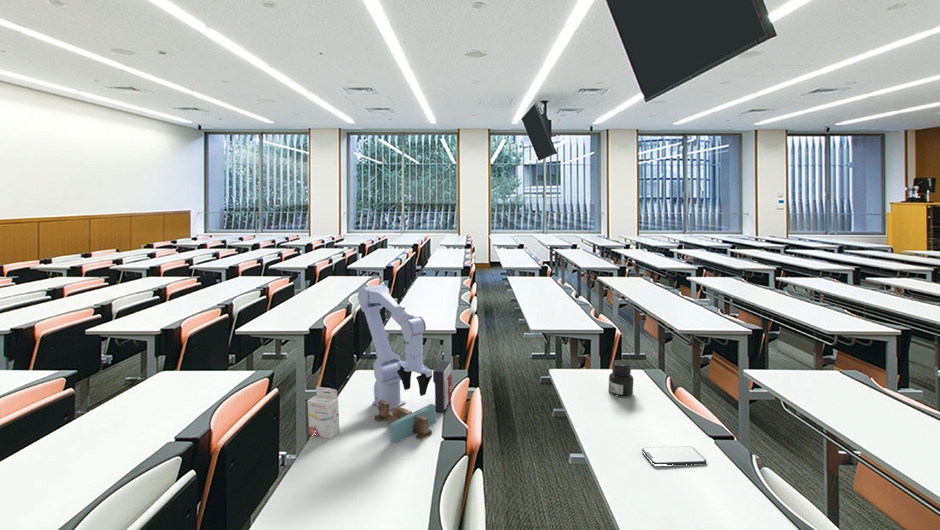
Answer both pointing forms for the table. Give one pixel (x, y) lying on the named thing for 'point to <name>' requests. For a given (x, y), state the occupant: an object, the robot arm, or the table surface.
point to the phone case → (674, 455)
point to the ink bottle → (621, 378)
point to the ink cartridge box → (323, 413)
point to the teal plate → (411, 423)
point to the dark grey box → (442, 385)
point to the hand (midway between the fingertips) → (415, 391)
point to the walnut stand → (398, 413)
